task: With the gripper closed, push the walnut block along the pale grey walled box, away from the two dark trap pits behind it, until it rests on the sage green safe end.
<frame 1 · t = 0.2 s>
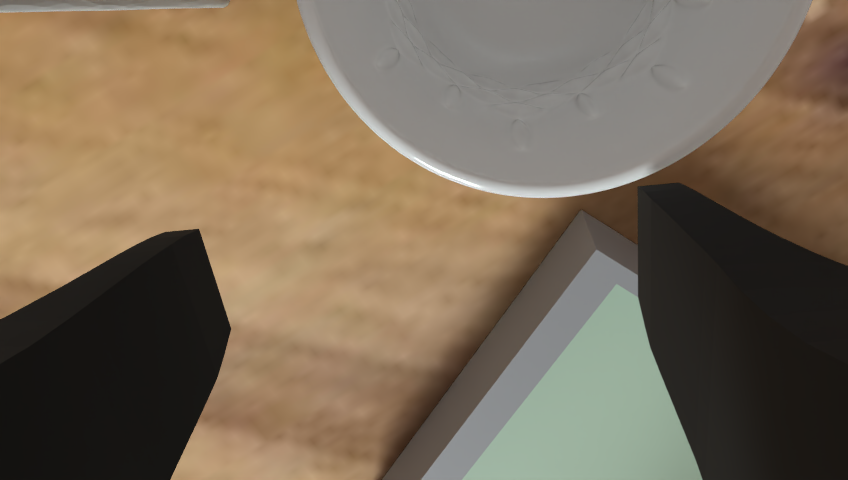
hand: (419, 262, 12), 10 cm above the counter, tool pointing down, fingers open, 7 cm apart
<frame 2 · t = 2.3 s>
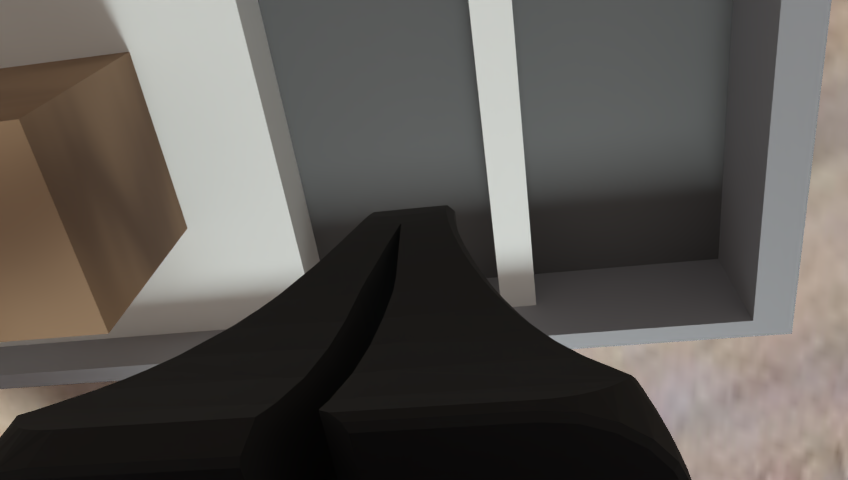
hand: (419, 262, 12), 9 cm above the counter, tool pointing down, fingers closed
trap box: (154, 123, 21), on the counter
walnut block: (72, 155, 20), point 2 cm above the counter, touching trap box
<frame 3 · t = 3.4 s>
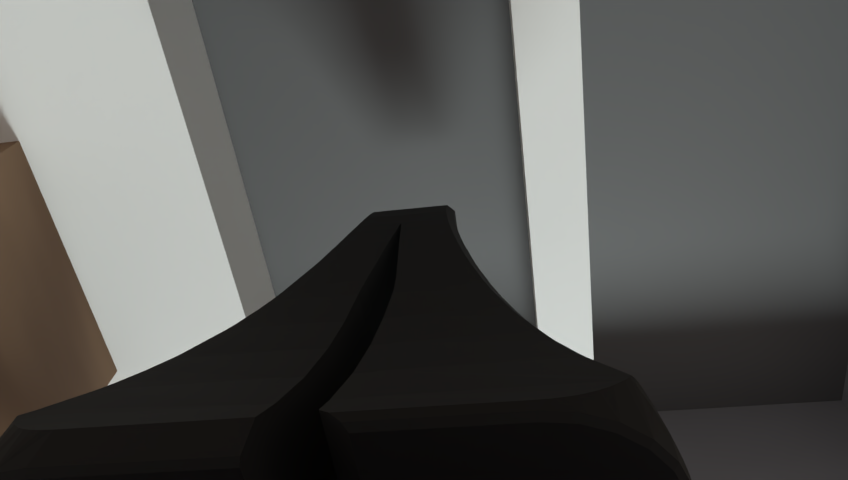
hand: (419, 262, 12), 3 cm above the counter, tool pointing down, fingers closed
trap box: (74, 221, 16), on the counter
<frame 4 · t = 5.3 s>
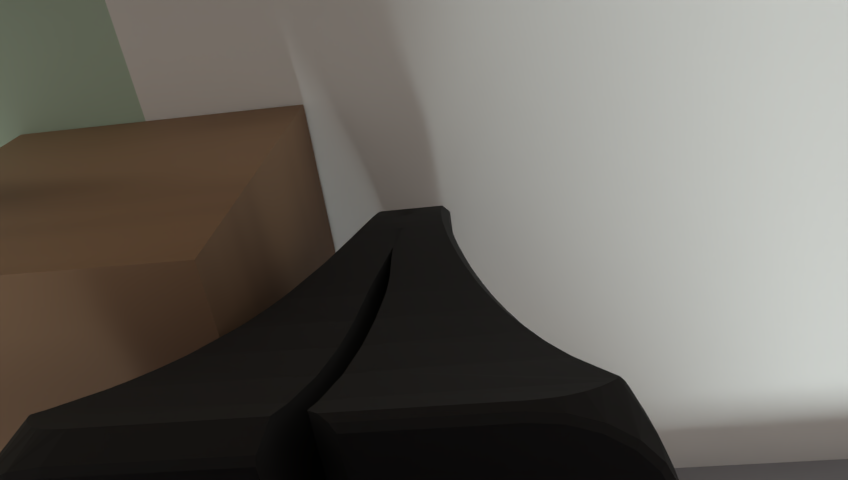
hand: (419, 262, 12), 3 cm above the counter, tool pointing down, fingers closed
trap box: (670, 162, 14), on the counter
walnut block: (199, 250, 13), point 2 cm above the counter, touching gripper
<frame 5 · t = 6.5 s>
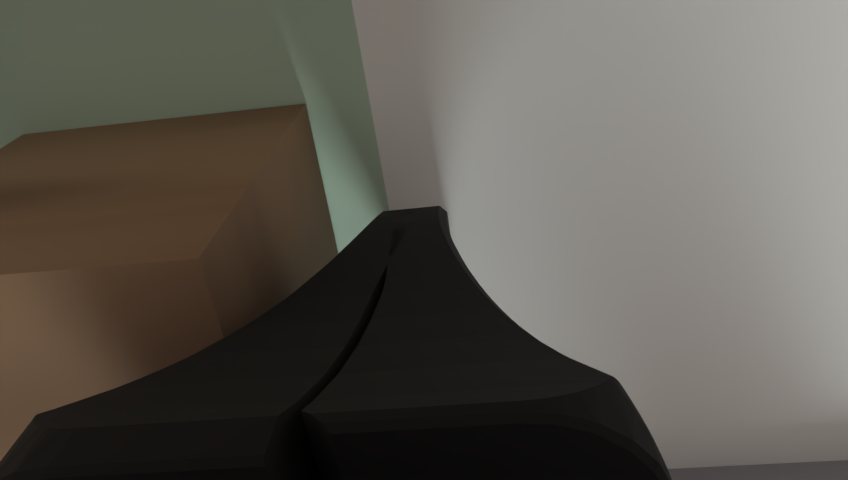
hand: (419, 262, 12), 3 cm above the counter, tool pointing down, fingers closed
walnut block: (201, 249, 13), point 2 cm above the counter, touching gripper, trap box
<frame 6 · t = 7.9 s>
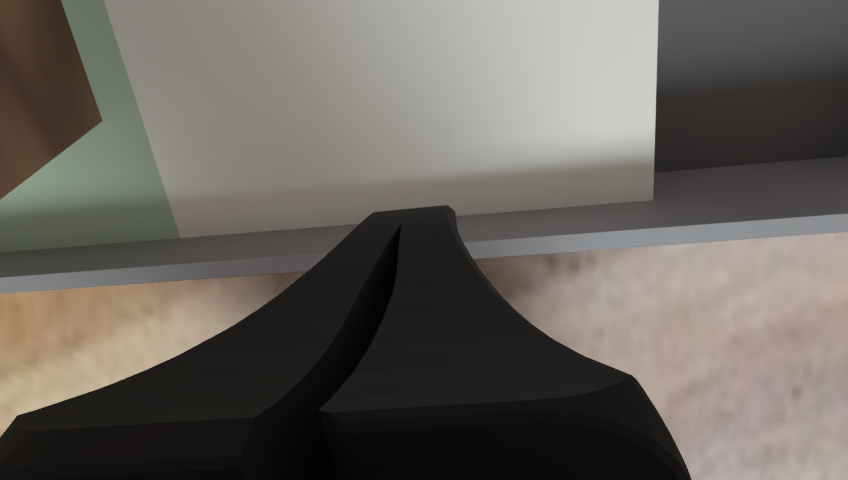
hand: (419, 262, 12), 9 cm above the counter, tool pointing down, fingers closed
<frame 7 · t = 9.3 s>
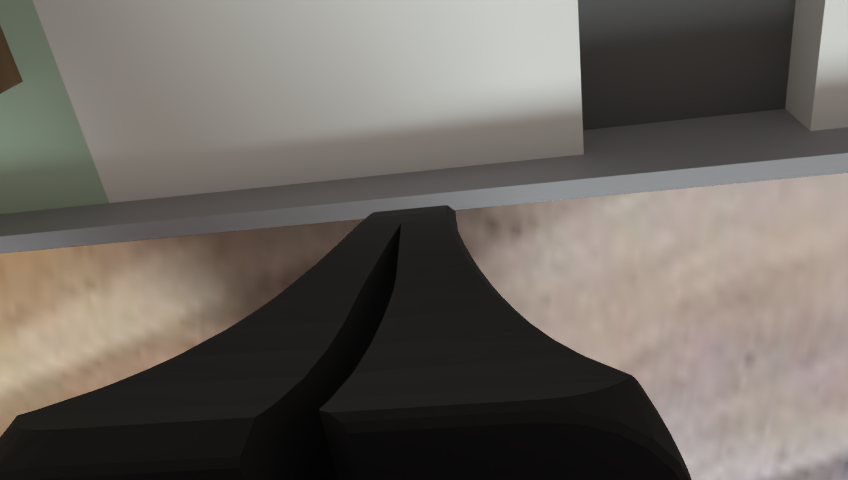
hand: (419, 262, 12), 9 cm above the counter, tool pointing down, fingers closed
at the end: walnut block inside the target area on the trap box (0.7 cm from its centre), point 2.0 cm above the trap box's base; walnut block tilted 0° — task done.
